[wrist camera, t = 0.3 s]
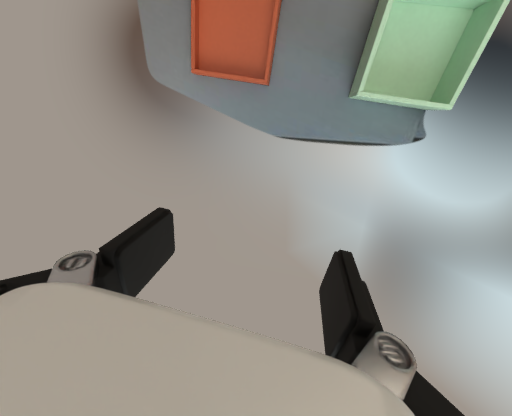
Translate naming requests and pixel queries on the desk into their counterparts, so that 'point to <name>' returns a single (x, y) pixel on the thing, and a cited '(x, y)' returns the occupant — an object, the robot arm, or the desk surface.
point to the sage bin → (424, 50)
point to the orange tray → (234, 38)
